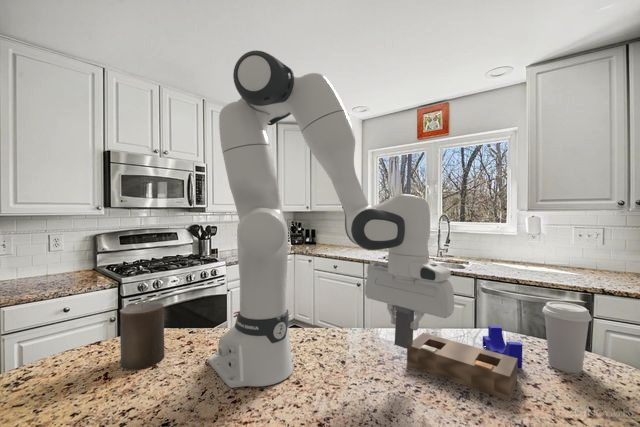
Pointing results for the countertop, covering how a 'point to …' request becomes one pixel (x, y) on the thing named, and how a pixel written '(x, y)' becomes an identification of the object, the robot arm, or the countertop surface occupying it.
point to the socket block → (465, 364)
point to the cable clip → (502, 344)
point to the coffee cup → (566, 335)
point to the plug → (403, 327)
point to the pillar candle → (142, 335)
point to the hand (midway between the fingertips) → (404, 326)
